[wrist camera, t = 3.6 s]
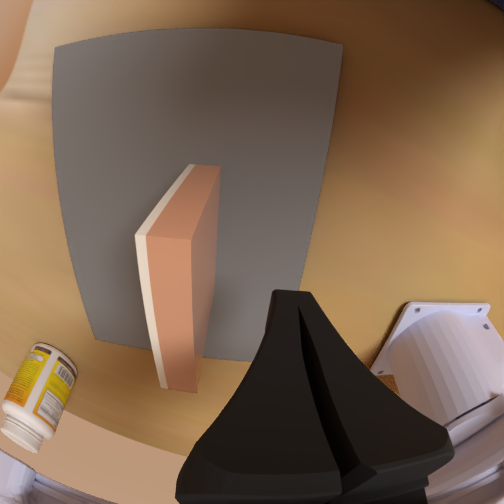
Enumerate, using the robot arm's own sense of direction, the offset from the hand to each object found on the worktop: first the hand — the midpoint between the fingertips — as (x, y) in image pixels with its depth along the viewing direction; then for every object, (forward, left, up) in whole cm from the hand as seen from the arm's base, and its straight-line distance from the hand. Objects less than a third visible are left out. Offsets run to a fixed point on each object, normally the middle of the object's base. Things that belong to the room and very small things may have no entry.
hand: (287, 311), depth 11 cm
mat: (+5, 0, -6) cm, 8 cm away
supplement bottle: (+19, +16, -6) cm, 26 cm away
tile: (+4, 0, -5) cm, 7 cm away
